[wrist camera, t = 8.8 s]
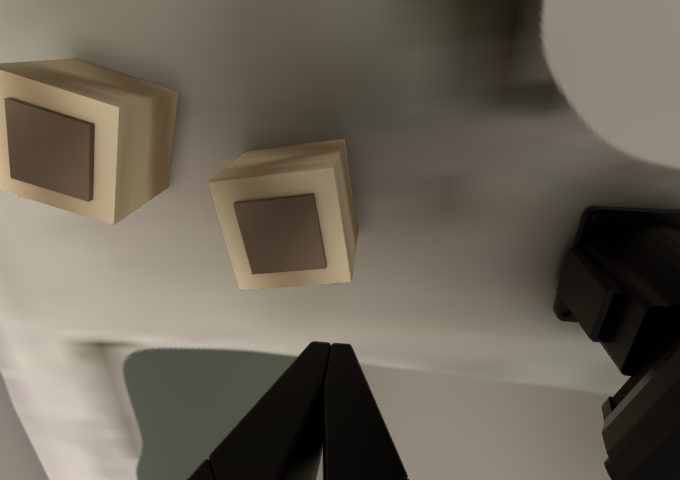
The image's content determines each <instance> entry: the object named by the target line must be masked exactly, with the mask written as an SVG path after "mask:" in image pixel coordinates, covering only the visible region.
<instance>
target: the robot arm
mask: <svg viewBox="0 0 680 480" xmlns="http://www.w3.org/2000/svg"><path fill="white" fill-rule="evenodd" d="M596 214H599V217H598V218H597V219H596V220H593V221H591V219H592V217H593V216H594V215H596ZM557 291H558V293H559V294H558V297H557V301H556V304H555V307H554V312H555V314H556V316H557V318H558V319H560V320H562V321H570V322H579V324H580V325H581V327H582V328H583V330H584V331H585V333H586V334H587V336H588V337H589V338H590V339H591V340H592V341H593V342H600V343H601V345H602V346H603V347H604V349H605V350H606V352H607V353H608V355H609V356H610V357H611V359H612V360H613V362H614V363H615V364H616V366H617V367H618V369H619V370H620V372H621V373H622V374H623V375H626V376H631V377H630V378H629V380H628V381H627V382H626V383H625V384H624V385H623V386H622V387H621V389H620V390H619V391H618V392H617V393H616V394H615V395H614V396H613V397H609V398H608V399H607V400H606V401H605V402H604V403H603V405H602V411H603V417H604V426H603V431H602V435H603V439H604V443H605V447H606V451H607V454H608V456H609V457H608V458H607V459H606V461H605V462H604V465H605V468H606V470H607V473H608V475H609V477H610V478H611V480H680V211H677V210H658V209H640V208H621V207H603V206H594V207H590V208H588V209H587V210H586V211H585V212H584V214H583V216H582V219H581V222H580V225H579V229H578V232H577V235H576V238H575V242H574V245H573V246H572V247H571V248H570V249H569V250H568V253H567V257H566V260H565V263H564V266H563V270H562V273H561V276H560V280H559V283H558V286H557ZM564 310H568V311H567V312H565V313H562V312H563V311H564ZM322 449H323V480H409V479H407V478H408V476H407V473H406V471H405V468H404V466H403V464H402V461H401V459H400V457H399V455H398V452H397V450H396V447H395V445H394V443H393V441H392V438H391V436H390V433H389V431H388V429H387V427H386V424H385V422H384V420H383V417H382V415H381V413H380V410H379V408H378V406H377V404H376V401H375V399H374V397H373V394H372V392H371V390H370V387H369V385H368V383H367V381H366V378H365V376H364V373H363V371H362V369H361V366H360V364H359V362H358V359H357V357H356V355H355V352H354V350H353V348H352V346H351V345H350V344H343V343H333V344H332V345H331V344H330V343H328V342H317V341H313V342H311V343H310V344H309V345H308V346H307V347H306V348H305V350H304V351H303V352H302V353H301V354H300V355H299V356H298V357H297V358H296V360H295V361H294V362H293V363H292V364H291V365H290V366H289V368H287V369H286V371H285V372H284V373H283V374H282V375H281V376H280V377H279V378H278V379H277V381H276V382H275V383H274V384H273V385H272V386H271V387H270V388H269V389H268V391H267V392H266V393H265V394H264V395H263V396H262V397H261V398H260V399H259V400H258V402H257V403H256V404H255V405H254V406H253V407H252V408H251V409H250V410H249V412H248V413H247V414H246V415H245V416H244V417H243V418H242V419H241V420H240V421H239V423H238V424H237V425H236V426H235V427H234V428H233V429H232V430H231V431H230V433H229V434H228V435H227V436H226V437H225V438H224V439H223V440H222V441H221V442H220V444H219V445H218V446H217V447H216V448H215V449H214V450H213V451H212V452H211V454H210V455H209V456H208V458H209V459H205V460H204V461H203V462H202V463H201V464H200V465H199V467H198V468H197V469H196V470H195V471H194V472H193V473H192V474H191V476H190V477H189V478H188V479H187V480H316V477H317V473H318V468H319V464H320V459H321V455H322Z"/></svg>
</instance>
